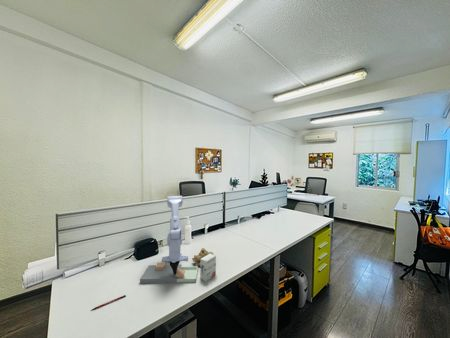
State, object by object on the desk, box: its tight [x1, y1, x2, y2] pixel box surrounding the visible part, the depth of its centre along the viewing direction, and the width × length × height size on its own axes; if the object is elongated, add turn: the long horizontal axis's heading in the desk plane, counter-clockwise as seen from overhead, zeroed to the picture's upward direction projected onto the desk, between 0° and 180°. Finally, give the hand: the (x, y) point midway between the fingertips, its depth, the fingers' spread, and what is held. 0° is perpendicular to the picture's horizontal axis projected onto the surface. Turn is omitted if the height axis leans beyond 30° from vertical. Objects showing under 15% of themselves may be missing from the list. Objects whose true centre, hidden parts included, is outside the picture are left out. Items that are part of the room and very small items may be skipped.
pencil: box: [91, 294, 127, 311], centre depth 83 cm, size 1×14×1 cm, turn 130°
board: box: [139, 264, 182, 285], centre depth 104 cm, size 13×20×2 cm, turn 93°
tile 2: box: [176, 268, 185, 279], centre depth 101 cm, size 4×4×2 cm
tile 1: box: [155, 262, 166, 270], centre depth 107 cm, size 4×4×2 cm
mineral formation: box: [192, 247, 215, 267], centre depth 117 cm, size 8×13×15 cm
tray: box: [176, 265, 199, 284], centre depth 104 cm, size 12×10×2 cm
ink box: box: [199, 253, 217, 282], centre depth 103 cm, size 9×5×12 cm, turn 141°
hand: (175, 273), depth 101 cm, fingers closed
